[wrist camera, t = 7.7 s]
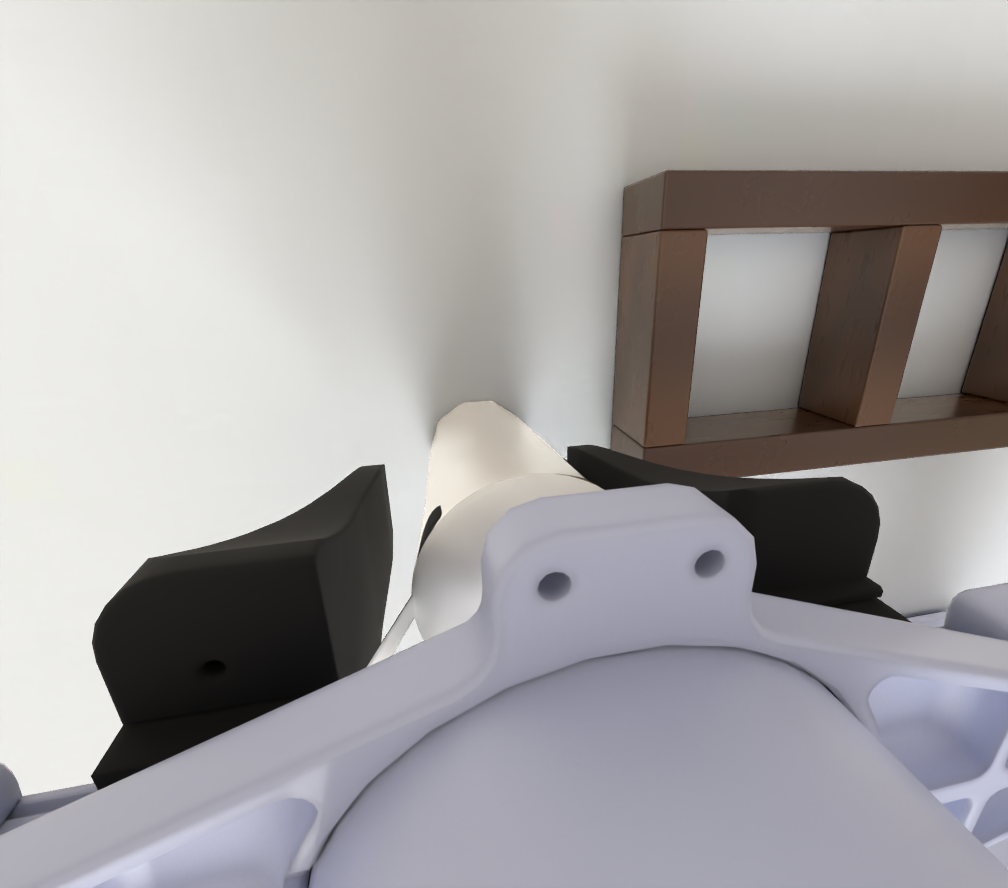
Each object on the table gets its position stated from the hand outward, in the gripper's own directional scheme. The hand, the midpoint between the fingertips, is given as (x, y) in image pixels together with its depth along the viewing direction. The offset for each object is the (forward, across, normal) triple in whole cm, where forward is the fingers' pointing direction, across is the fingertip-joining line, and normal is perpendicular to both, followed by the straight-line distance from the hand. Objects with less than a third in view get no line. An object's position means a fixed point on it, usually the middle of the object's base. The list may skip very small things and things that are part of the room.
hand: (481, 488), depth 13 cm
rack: (+3, -14, -4) cm, 14 cm away
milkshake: (+4, 0, 0) cm, 4 cm away
